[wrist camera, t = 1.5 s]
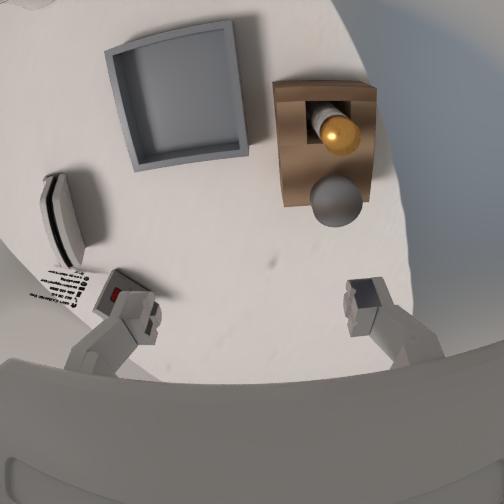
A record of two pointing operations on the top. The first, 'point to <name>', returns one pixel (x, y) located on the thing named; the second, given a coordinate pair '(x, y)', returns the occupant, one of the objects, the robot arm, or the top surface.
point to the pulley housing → (324, 149)
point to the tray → (180, 96)
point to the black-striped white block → (61, 222)
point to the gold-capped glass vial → (333, 127)
